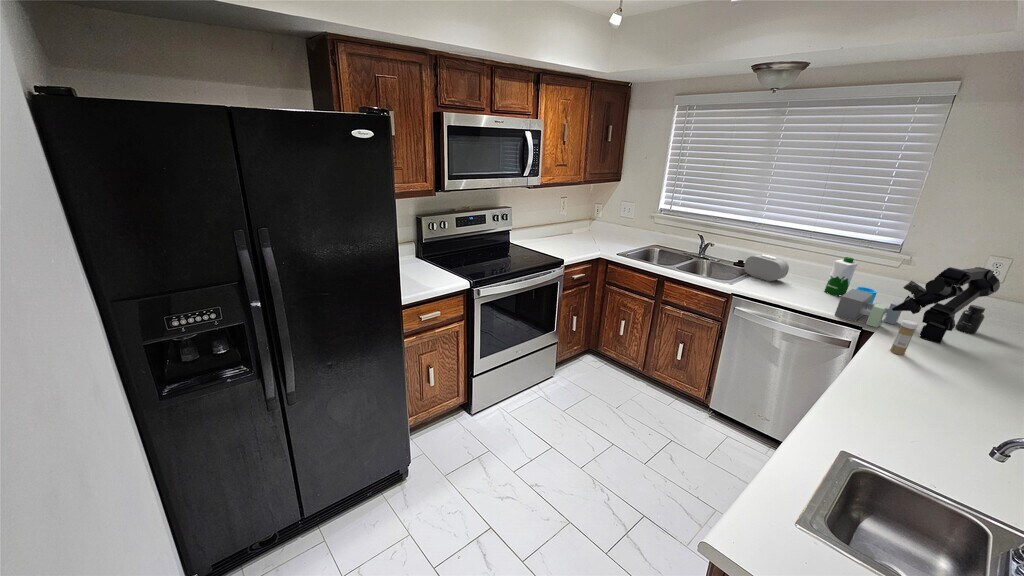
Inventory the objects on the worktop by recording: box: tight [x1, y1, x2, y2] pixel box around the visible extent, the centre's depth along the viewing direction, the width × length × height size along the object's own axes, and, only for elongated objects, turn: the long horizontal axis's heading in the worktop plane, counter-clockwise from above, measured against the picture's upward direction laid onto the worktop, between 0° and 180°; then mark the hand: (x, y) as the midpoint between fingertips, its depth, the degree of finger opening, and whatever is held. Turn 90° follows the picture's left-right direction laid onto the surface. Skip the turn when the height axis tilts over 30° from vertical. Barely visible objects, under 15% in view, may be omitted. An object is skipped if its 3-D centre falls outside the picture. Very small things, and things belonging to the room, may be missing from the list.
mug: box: [856, 286, 878, 304], centre depth 211 cm, size 12×8×8 cm
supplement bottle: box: [954, 304, 986, 335], centre depth 184 cm, size 7×7×12 cm
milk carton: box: [823, 256, 858, 297], centre depth 222 cm, size 9×9×20 cm
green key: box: [859, 303, 888, 328], centre depth 190 cm, size 14×5×9 cm, turn 38°
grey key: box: [866, 301, 903, 325], centre depth 195 cm, size 16×5×9 cm, turn 38°
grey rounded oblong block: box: [743, 254, 790, 282], centre depth 243 cm, size 21×10×13 cm, turn 32°
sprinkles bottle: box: [889, 319, 919, 356], centre depth 161 cm, size 5×5×13 cm
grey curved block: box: [834, 288, 873, 323], centre depth 197 cm, size 8×18×10 cm, turn 128°
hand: (892, 309), depth 181 cm, fingers closed
